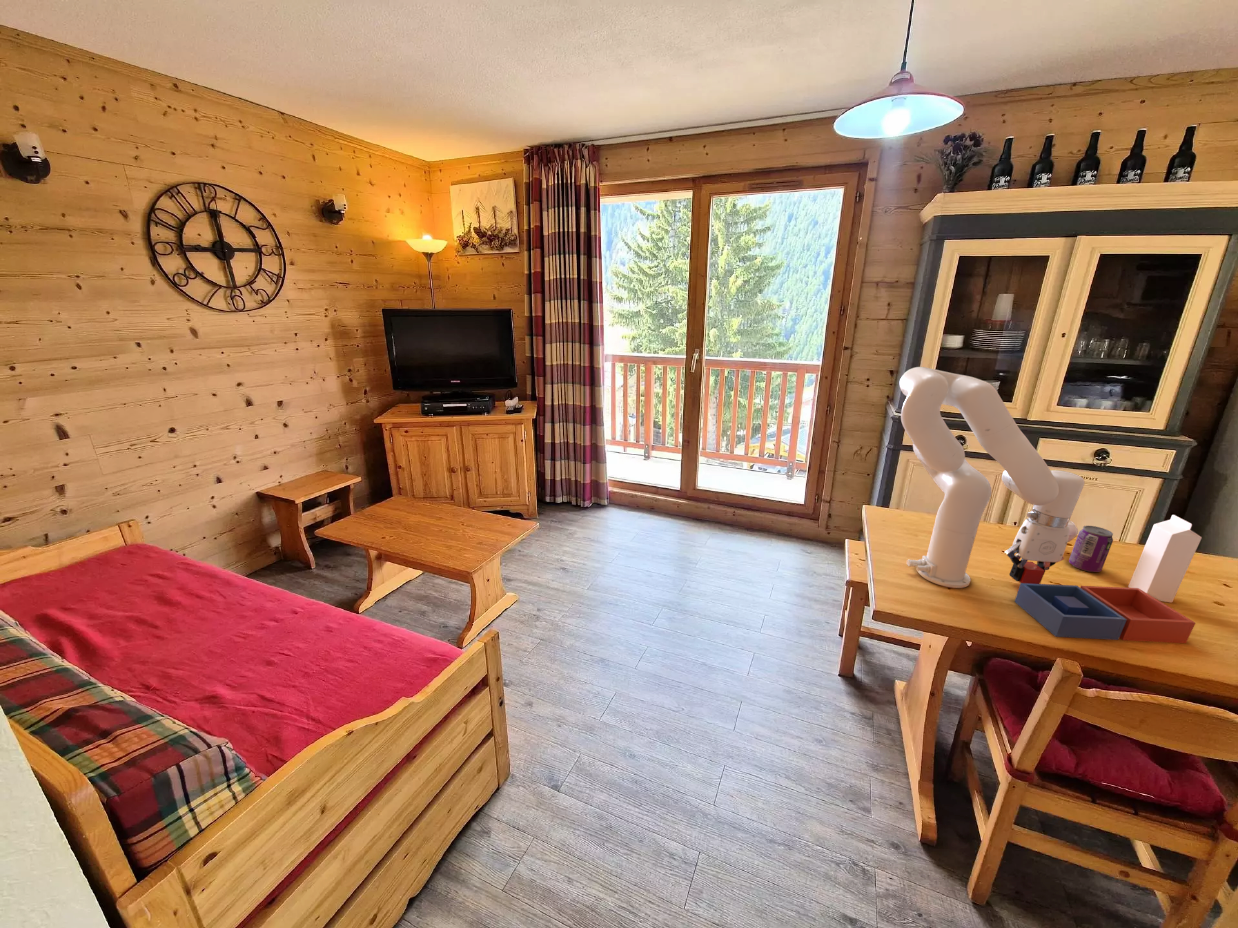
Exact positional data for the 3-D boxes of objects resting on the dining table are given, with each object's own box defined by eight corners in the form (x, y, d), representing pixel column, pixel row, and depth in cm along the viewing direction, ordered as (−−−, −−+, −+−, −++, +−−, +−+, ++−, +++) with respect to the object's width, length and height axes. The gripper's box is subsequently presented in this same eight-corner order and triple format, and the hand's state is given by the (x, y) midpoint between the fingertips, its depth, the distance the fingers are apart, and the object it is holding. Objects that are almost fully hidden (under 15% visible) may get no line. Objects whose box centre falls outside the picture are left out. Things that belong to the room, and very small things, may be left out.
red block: (1021, 583, 128) (1027, 569, 126) (1009, 574, 132) (1015, 560, 131) (1039, 585, 128) (1045, 570, 126) (1026, 575, 132) (1032, 561, 130)
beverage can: (1107, 575, 136) (1122, 537, 132) (1078, 572, 138) (1092, 534, 134) (1089, 562, 143) (1103, 526, 139) (1062, 559, 144) (1074, 523, 140)
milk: (1144, 599, 126) (1176, 523, 118) (1127, 586, 131) (1157, 512, 124) (1173, 602, 124) (1207, 525, 117) (1154, 589, 130) (1186, 515, 122)
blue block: (1063, 622, 115) (1069, 606, 113) (1048, 611, 119) (1054, 595, 118) (1083, 623, 115) (1089, 607, 113) (1067, 612, 119) (1073, 596, 117)
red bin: (1122, 640, 110) (1131, 619, 109) (1073, 604, 123) (1080, 585, 121) (1186, 643, 110) (1195, 622, 108) (1130, 606, 122) (1138, 587, 121)
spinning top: (1032, 547, 151) (1043, 512, 147) (1045, 542, 155) (1057, 508, 151) (1061, 558, 145) (1074, 522, 141) (1075, 553, 148) (1088, 517, 144)
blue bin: (1055, 636, 111) (1063, 616, 109) (1014, 601, 124) (1020, 582, 122) (1118, 639, 110) (1127, 619, 109) (1070, 604, 123) (1077, 585, 121)
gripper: (1025, 522, 121) (1001, 584, 127) (1095, 527, 120) (1068, 590, 126) (1004, 509, 128) (983, 569, 134) (1071, 514, 127) (1046, 574, 133)
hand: (1024, 578), depth 130 cm, fingers closed on red block, 4 cm apart
